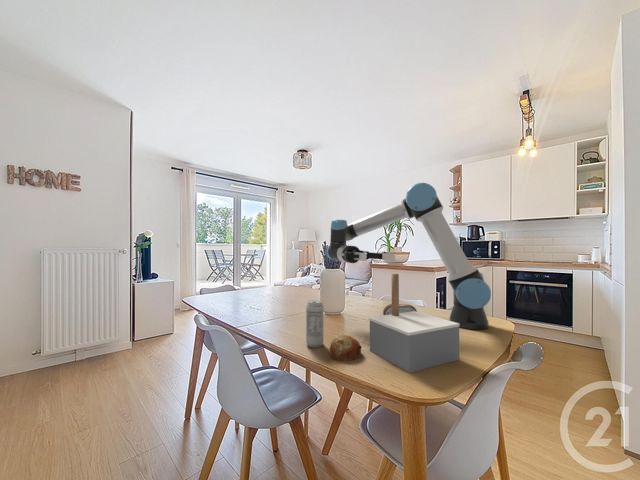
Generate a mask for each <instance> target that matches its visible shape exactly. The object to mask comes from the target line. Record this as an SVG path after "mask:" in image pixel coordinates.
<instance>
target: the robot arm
mask: <svg viewBox="0 0 640 480" xmlns="http://www.w3.org/2000/svg"><path fill="white" fill-rule="evenodd" d="M443 211H444V206H443V204H442V202H441V200H440V199H439V197H438V195H437V190H436V189H435V187H433V186H432V185H431V184H429V183H426V182H417V183H415V184H413V185H412V186H410V187H409V189H408V190H407V193H406V195H405V198H404V199H402V200H401V201H400V203H397V204H395V205H392V206H390V207H388V208H385V209H381V210H380V211H377V212H375V213H373V214H369V216H365V217H363V218H361V219H358V220H356V221H353V222H351V223H348V221H347V219H332V220H331V222H330V243H329V246H327V247H326V251H325V254H326V256H327V258H328V259H329V260H331V261H335V262H343V263H344V264H346V263H347V264H348V263H349V264H355V263H358V262H359V261H362V262H366V261H368V260H369V259H371V260H372V259H374V260H381V261H389V262H395V261H396V254H394V253H388V252H387V253H386V251H383V252H370V251H368V250H367V251H366V250H360V249H359V247H358V246H355V245H350V244H348V245H347V242H349V241H351V240H354V239H355V238H357V237H360V236H362V235H365V234H368V233H371V232H373V231H375V230H378V229H380V228H382V227H385V226H389V225H391V224H393V223H396V222H398V221H402V220H405V219H412V218H414V219H415V220H416V221H417V222H418V223H419V222H420V223H421V224H422V225H423V227H424V229H425V231H426V233H427V235H428V237H429V239H430V241H431V242H432V244H433V246H434V248H435V250H436V252H437V253H438V255H439V257H440V259H441V261H442V263H443V264H444V266H445V269H446V271H447V273H448V274H449V276H448V278H447V281H448V283H449V285H450V286H451V289H452V291H453V294H452V295H453V296H452V297H453V307H452V309H451V312H450V314H449V315H450V316H449V318H448V319H449V320H448V321H452V322H455V323H459V324H460V326H459V328H462V329H467V330H486V329H488V328H489V327H490V326H489V319H488V317H487V314H486V311H485V309H484V308H485V306H486V305H488V304H489V302H490V300H491V297H492V291H491V287H490V286H489V284H487V282H485V280H484V274H483V273H482V272H480V271H479V269H478V268H477V267H475V266H473V265H471V263H470V261H469V260H468V258H467V256H466V254H465V252H464V251H463V249H462V247H461V245H460V244H459V241H458V240H457V238H456V236H455V234H454V232H453V231H452V229H451V227H450V225H449V223H448V222H447V219H446V218H445V215H443Z"/></svg>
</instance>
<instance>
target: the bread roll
mask: <svg viewBox="0 0 640 480" xmlns="http://www.w3.org/2000/svg"><path fill="white" fill-rule="evenodd" d="M328 350H329V351H328V353H329V355H330V357H331V358H333V359H334V360H336V361H337V360H339V361H351V360H357V359H358V358H359V357H360V356H361V353H362V346H361V343H360V341H358V340H357V339H356V338H354V337H352V336H351V335H347V334H340V335H337V336H336V337H334V338H333V339H332V341H331V343H330V346H329V349H328Z"/></svg>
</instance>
